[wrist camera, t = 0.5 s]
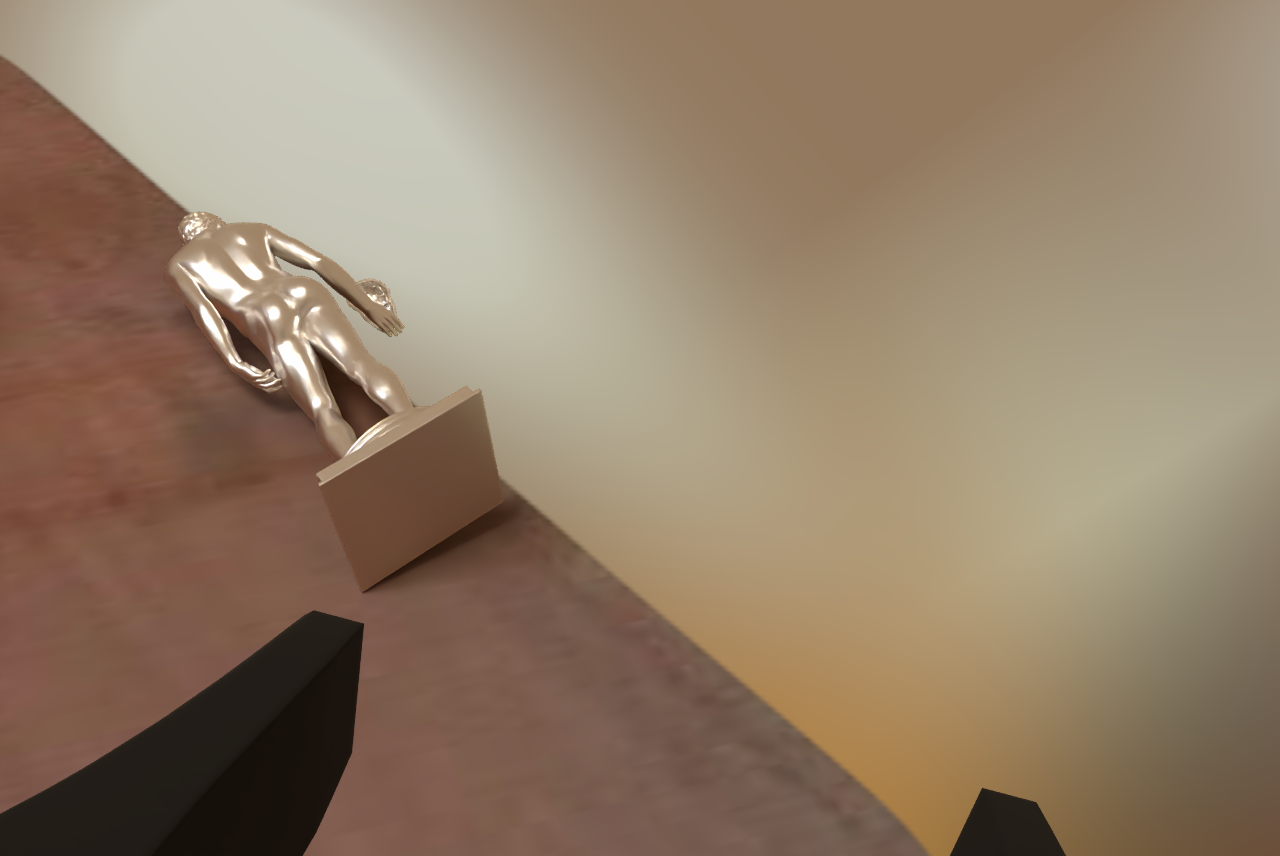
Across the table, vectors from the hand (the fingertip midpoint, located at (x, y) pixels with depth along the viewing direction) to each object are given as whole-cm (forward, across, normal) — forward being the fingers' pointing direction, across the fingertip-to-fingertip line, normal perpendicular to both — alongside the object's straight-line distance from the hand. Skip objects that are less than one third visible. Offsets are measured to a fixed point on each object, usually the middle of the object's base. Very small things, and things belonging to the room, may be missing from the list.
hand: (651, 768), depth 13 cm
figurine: (+21, +8, +11) cm, 25 cm away
